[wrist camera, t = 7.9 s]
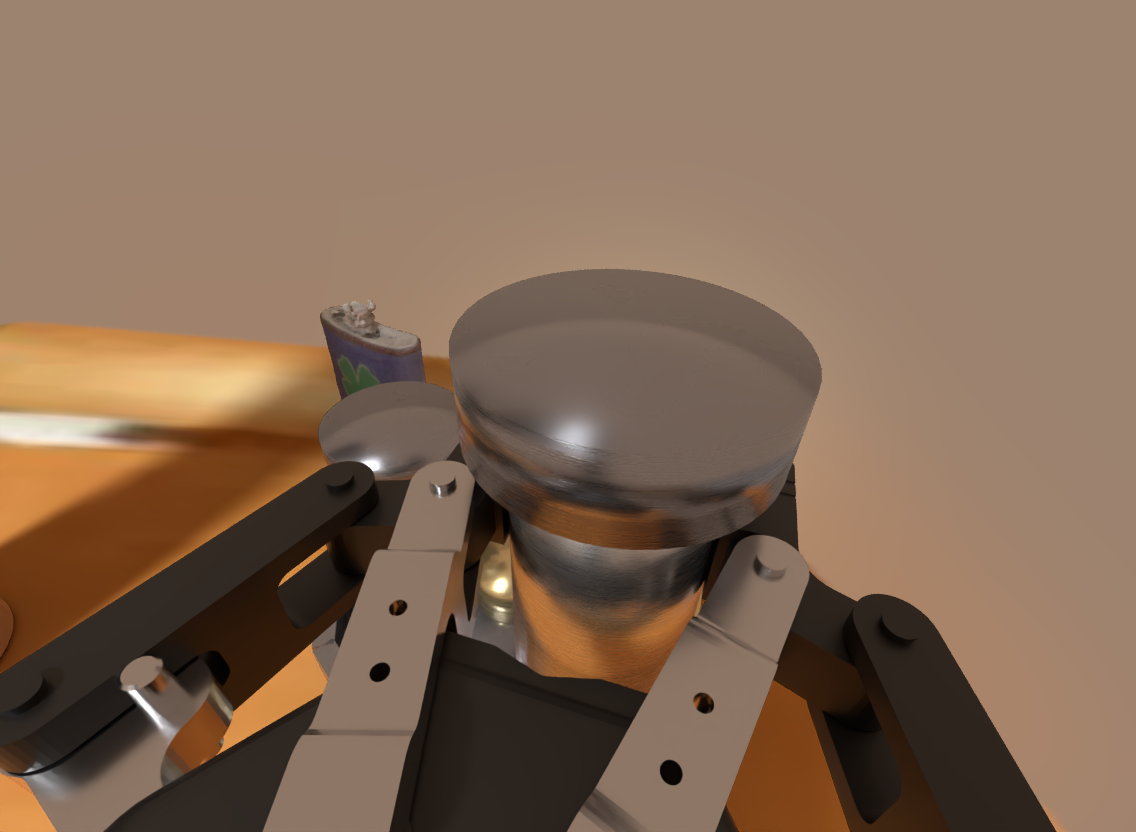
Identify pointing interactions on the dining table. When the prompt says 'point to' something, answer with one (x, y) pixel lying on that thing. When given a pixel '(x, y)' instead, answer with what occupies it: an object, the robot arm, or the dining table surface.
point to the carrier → (396, 452)
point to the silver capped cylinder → (623, 450)
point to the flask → (369, 349)
